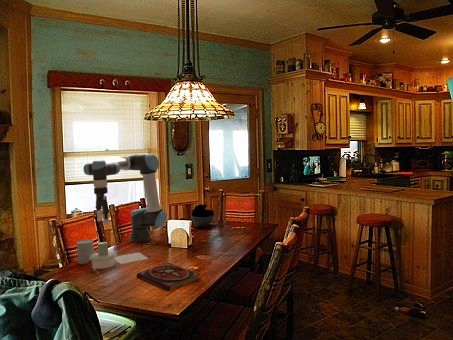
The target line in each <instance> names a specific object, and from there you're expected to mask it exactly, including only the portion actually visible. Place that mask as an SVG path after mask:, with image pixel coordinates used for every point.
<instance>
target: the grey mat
mask: <svg viewBox="0 0 453 340" xmlns="http://www.w3.org/2000/svg"><path fill="white" fill-rule="evenodd" d="M144 260H149V257H147V256H146V255H144V254H142V252H139V251H138V252H134V253H128V254H123V255H118V256H116V257H115V262H117V263H118V264H120V265H123V264H128V263H133V262H139V261H144Z"/></svg>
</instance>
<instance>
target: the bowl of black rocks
mask: <svg viewBox="0 0 453 340" xmlns="http://www.w3.org/2000/svg"><path fill="white" fill-rule="evenodd" d="M207 207H208V205H207V204H197V205H196V206H195V207H194V209H193V210H192V212H191V216H190V218H191V221H192V222H193V224H194V225H195V226H197V227H201V228H206V227H208V226H210V225H212V223H213V222H214V220H215V216H216V215H215V212H214V210H213V209H206V208H207Z"/></svg>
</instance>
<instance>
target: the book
mask: <svg viewBox="0 0 453 340" xmlns="http://www.w3.org/2000/svg"><path fill="white" fill-rule="evenodd" d="M199 276H201V273H199V272H195V270H192V269H189V268H184V267H182V266H180V265H178V264H173V263H170V262H167V263H164V264H161V265H157V266H154V267H152V268H148V269H146V270H143V271H140V272H137V273H136V278H139V279H140V280H142V281H145V282H147V283H149V284H152V285H154V286H156V287H158V288H160V289H162V290H164V291H167V292H170V291H171V290H174V289H175V288H179V287H181V286H184V285H186V284H189V283H194V282H197V281H200V280H201V278H199Z"/></svg>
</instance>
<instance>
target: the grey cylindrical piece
mask: <svg viewBox="0 0 453 340" xmlns="http://www.w3.org/2000/svg"><path fill="white" fill-rule="evenodd" d="M94 246H95V245H94V240H93V239H83V240H78V241H77V242H76V248H77V249H76V251H77V253H76V254H77V264H81V265H83V264H85V263H87V264H90V262H92V260H90V258H89V256H90V255H92V254H94V253H95V248H94Z"/></svg>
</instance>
